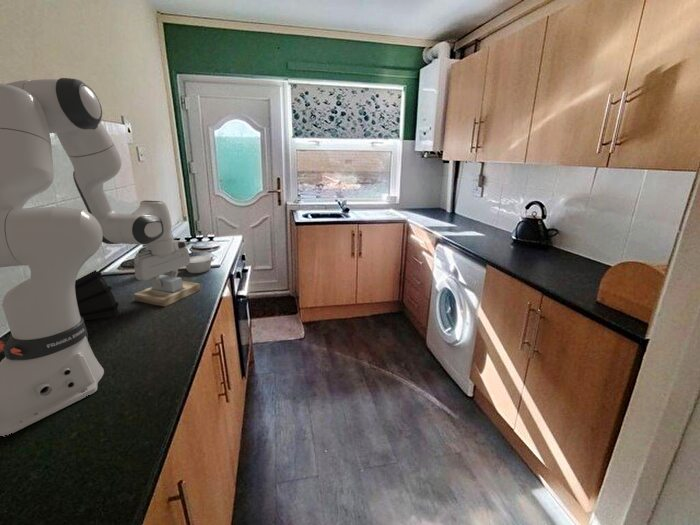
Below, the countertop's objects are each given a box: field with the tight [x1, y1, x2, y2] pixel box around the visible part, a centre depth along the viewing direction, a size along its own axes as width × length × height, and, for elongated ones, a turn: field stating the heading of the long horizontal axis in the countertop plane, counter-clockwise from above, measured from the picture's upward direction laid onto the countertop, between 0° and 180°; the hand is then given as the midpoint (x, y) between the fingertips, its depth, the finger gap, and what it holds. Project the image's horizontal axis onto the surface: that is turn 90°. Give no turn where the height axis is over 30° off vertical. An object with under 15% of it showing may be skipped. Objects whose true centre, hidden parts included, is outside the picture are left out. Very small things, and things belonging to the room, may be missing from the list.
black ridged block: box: [75, 269, 120, 321], centre depth 105 cm, size 4×13×15 cm, turn 107°
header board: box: [133, 280, 202, 307], centre depth 123 cm, size 16×14×5 cm
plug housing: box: [150, 274, 183, 292], centre depth 122 cm, size 10×4×4 cm, turn 69°
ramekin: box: [185, 255, 212, 274], centre depth 150 cm, size 11×11×5 cm
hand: (167, 284), depth 122 cm, fingers closed on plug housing, 4 cm apart
